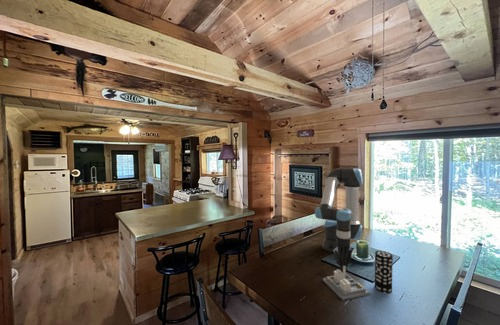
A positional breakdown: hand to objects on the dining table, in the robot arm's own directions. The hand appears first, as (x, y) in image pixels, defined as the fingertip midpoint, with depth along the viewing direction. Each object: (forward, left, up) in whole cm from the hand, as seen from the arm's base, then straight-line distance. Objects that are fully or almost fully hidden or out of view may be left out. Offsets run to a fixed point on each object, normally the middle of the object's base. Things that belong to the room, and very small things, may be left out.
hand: (343, 275), depth 129 cm
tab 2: (+5, +9, -2) cm, 11 cm away
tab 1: (+3, 0, -2) cm, 4 cm away
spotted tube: (-18, +11, -4) cm, 21 cm away
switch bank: (+2, +4, -4) cm, 6 cm away
